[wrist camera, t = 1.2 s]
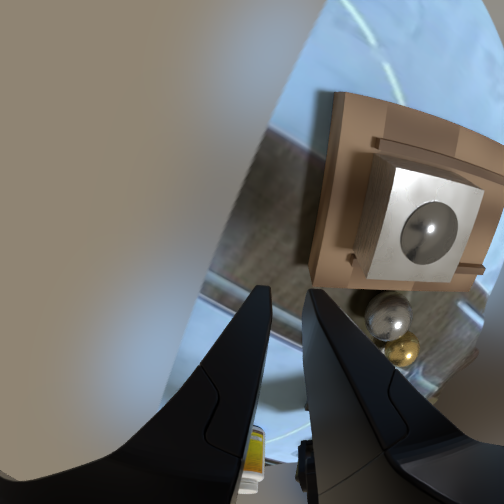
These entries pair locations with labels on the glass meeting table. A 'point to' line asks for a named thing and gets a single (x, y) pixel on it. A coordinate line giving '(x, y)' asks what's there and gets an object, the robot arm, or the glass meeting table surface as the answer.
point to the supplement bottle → (253, 463)
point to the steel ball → (388, 316)
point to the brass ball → (402, 350)
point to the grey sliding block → (414, 221)
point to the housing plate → (408, 148)
